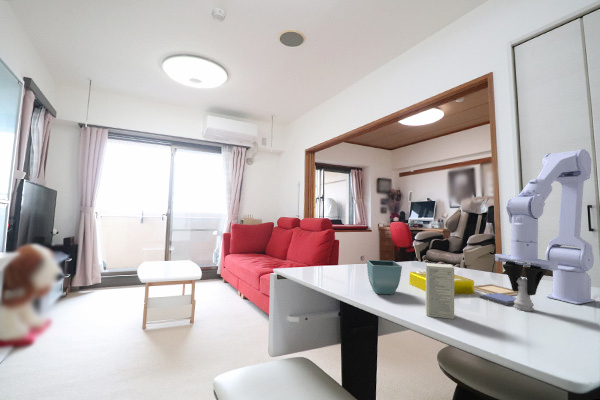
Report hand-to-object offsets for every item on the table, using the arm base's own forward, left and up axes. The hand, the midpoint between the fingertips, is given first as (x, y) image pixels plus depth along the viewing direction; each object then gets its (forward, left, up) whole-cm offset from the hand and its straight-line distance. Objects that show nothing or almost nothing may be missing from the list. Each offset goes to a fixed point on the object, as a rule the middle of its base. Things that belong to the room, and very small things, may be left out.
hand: (523, 292), depth 82 cm
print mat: (-11, -15, -4) cm, 19 cm away
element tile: (+4, -23, -5) cm, 24 cm away
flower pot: (+26, -25, -4) cm, 36 cm away
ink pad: (-2, -7, -4) cm, 8 cm away
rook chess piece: (0, 0, -4) cm, 4 cm away
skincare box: (+26, -4, -4) cm, 27 cm away
